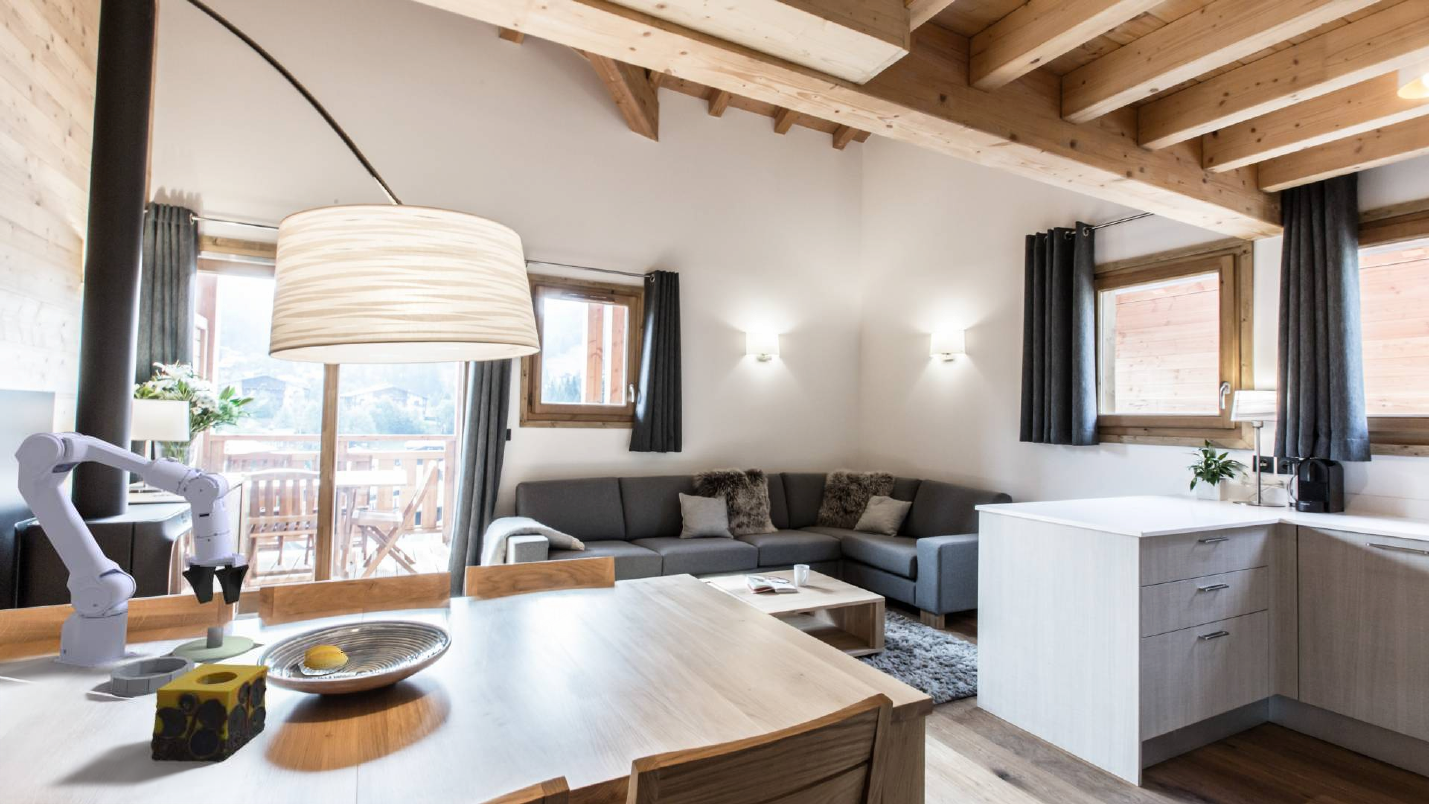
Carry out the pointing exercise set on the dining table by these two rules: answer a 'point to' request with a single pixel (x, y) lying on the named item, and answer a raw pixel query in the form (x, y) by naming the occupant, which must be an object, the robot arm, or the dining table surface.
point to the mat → (215, 660)
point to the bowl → (148, 675)
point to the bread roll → (324, 658)
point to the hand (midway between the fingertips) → (219, 602)
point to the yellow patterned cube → (209, 712)
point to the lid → (214, 646)
